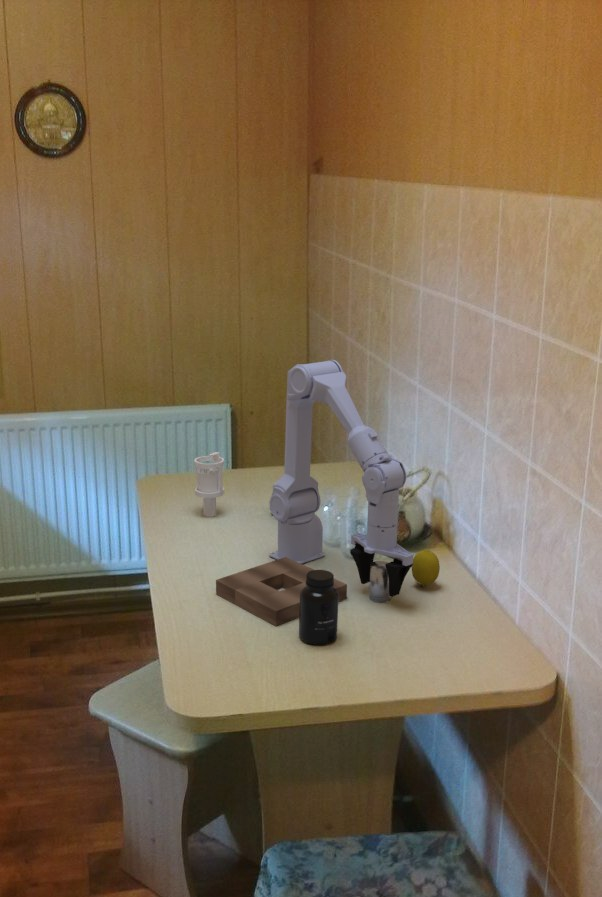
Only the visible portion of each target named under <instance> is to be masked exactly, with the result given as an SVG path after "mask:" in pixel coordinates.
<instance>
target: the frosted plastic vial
mask: <svg viewBox="0 0 602 897" xmlns="http://www.w3.org/2000/svg"><path fill="white" fill-rule="evenodd" d="M387 563H389V562H388V561H385V560H376V561H373V562H372V563H371V564H370V582H369V588H368V589H369V592H368V599H369V600H370V601H371V602H373V603H378V604H382V603H387V601H388V602H389V601H390V599H391V596H390V595H389V577H388V572H387V569H386V566H385V564H387Z"/></svg>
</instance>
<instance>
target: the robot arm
mask: <svg viewBox="0 0 602 897" xmlns="http://www.w3.org/2000/svg"><path fill="white" fill-rule="evenodd" d="M286 376H287V378H286V379H287V381H286V383H287V384H286V403H285V404H286V405H285V406H286V407H285V408H286V409H285V435H284V440H285V442H284V466H283V467H284V468H283V471H284V473H283V474H282V475H281V476H280V478H278V479H277V480H276V481H275V482H274V484H272V492H271V496H270V498H269V508H270V509H269V510H270V512H271V514H272V515H273V517H274V519H275V520H277V551H273V552H270V553H268V554H269V555H268V556H269V557H271V558H273V559H275V560H278V559H281V558H284V557H287V558H289V559H292V560H294V561H296V562H298V563H301V564H304V563H308V562H311V561H313V560H314V561H315V560H316V559H320V558H323V557H325V556H326V554H325V553H324V552H323V543H324V540H323V536H324V535H323V534H324V530H323V528H324V527H323V523H322V520H321V519H320V517H319V516H318V515H317V514H316V513H317V511H319V509H320V507H321V496H320V493H319V482H318V481H317V480H316V479H315V477H312V476H311V459H312V458H311V457H312V436H313V435H312V433H313V432H312V431H313V430H312V429H313V428H312V427H313V410H314V406H313V405H314V404H315V402H320V403H323V404H327V405H328V407H329V408H330V409H331V411H332V412H333V413H334V414H333V415H335V416H336V418H337V419H338V421H339V422H340V424H341V426H343V428H344V429H345V431H346V432H347V434H348V439H347V443H346V444H347V445H348V447H349V449H350V451H351V453H352V454H353V456H354V457H355V459H356V461H357V463H358V465H359V466H360V468H361V469H362V472H363V475H362V476H361V480H362V481H361V482H362V486H364V489H365V499H366V501H367V524H366V525H367V526H366V534H364V533H360V532H357V533H353V534H351V535H350V545H352V546H354V547H353V548H351V549H350V552H349V554H350V555H351V557H352V558H353V561H354V562H355V565H356V567H357V571H358V576H359V580H360V583H361V584H362V585H365V584H368V583H370V564H371V563H372V562H374V560H375V554H378V555H382V556H384V557H387V558H390V559H392V561H389V562H388V563H387V564H385V566H386V569H387V572H388V577H389V595H390V598H394V597H395V596H396V597H397V596H398V595H400V593H401V589H402V586H403V584H404V580H405V578H406V576H407V574H408V572H409V571H410V569H412V565H413V559H414V556H415V555H414V553H411V552H410V551H408V550H407V549H405V548H404V547H403V546H401V545H400V544H398V542H397V541H398V524H399V521H398V520H399V500H400V488H402V487H404V485H405V484H406V480H407V472H406V468H405V466H404V464H403V462H402V461H401V460H400V459H399V458H395V457H394V456H393V455H392V454H389V453H388V451H387V450H386V448H385V446H384V444H383V442H382V440H380V438H379V437H380V436H379V435H378V433H377V431H376V430H375V429H374V428H373V427H370V426H367V425H365V424H364V422H363V420H362V418H361V416H360V414H359V412H358V410H357V408H356V405H355V404H354V401H353V400H352V397H351V395H350V393H349V391H348V389H347V387H346V386H347V375H346V373H345V372H344V370H343V368H342V366H341V364H340V363H339V362H338V361H337V360H335V359H328V360H325V361H319V362H318V361H317V362H311V363H304V364H301V363H297V364H295V365H294V366H293V367H292V368H290V369H289V370H288V371H287V375H286Z"/></svg>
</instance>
